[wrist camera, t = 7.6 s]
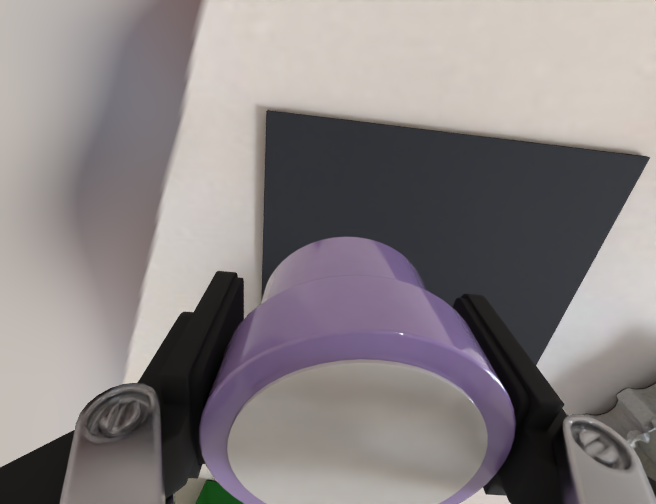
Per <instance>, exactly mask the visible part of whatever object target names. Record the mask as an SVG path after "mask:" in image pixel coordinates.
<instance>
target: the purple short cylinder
mask: <svg viewBox="0 0 656 504" xmlns="http://www.w3.org/2000/svg"><path fill="white" fill-rule="evenodd" d="M515 426H516V421H515V414H514V408H513V405H512V402H511V400H510V397H509V394H508V392H507V391H506V389H505V387H504V385H503V384H502V382H501V380H500V379H499V377H498V375H497V373H496V372H495V370H494V368H493V367H492V365H491V363H490V361H489V360H488V358H487V356H486V355H485V353H484V351H483V349H482V348H481V346H480V344H479V343H478V341H477V339H476V337H475V336H474V334H473V332H472V331H471V329H470V328H469V326H468V325H467V323H466V321H465V320H464V319H463V318H462V317H461V316H460V315H459V314H458V312H457V311H456V310H455V309H453V308H452V307H451V306H450V305H448V304H447V303H446V302H445V301H443V300H442V299H440V298H439V297H437V296H435V295H434V294H432V293H430V292H428V291H427V289H426V287H425V284H424V282H423V280H422V278H421V276H420V274H419V273H418V271H417V270H416V268H415V267H414V266H413V264H412V263H411V262H410V261H409V260H408V259H407V258H406V257H404V256H403V255H402V254H401V253H400V252H398V251H396V250H395V249H393V248H391V247H389V246H387V245H385V244H383V243H380V242H377V241H374V240H370V239H365V238H359V237H334V238H328V239H323V240H320V241H317V242H314V243H311V244H308V245H306V246H304V247H302V248H300V249H298V250H297V251H295V252H294V253H292V254H291V255H289V256H288V257H287V258H286V259H285V260H283V261H282V262H281V263H280V265H279V266H278V267H277V268H276V269H275V271H274V272H273V274H272V275H271V277H270V278H269V281H268V283H267V285H266V288H265V291H264V295H263V298H262V302H261V305H259V306H258V307H257V308H256V309H254V310H253V311H252V312H251V313H249V315H248V316H247V317H246V318H245V319H244V320H243V321H242V322H241V323H240V324H239V326H238V327H237V329H236V330H235V332H234V333H233V335H232V336H231V338H230V340H229V342H228V345H227V347H226V349H225V352H224V355H223V357H222V360H221V363H220V365H219V368H218V371H217V374H216V376H215V379H214V382H213V384H212V387H211V390H210V392H209V395H208V398H207V401H206V403H205V406H204V409H203V411H202V415H201V420H200V424H199V444H200V449H201V454H202V457H203V459H204V461H205V464H206V466H207V468H208V469H209V471H210V473H211V474H212V476H213V477H214V478H215V480H216V481H217V482H218V483H219V484H220V485H221V486H222V487H223V488H224V489H225V490H226V491H227V492H228V493H230V494H231V495H232V496H233V497H234V498H236V499H237V500H239V501H240V502H242V503H243V504H459V503H461V502H463V501H465V500H466V499H468V498H469V497H471V496H472V495H474V494H475V493H476V492H478V491H479V490H480V489H481V488H482V487H484V486H485V485H486V484H487V483H488V482H489V481H490V480H491V479H492V478H493V477H494V476H495V475H496V474H497V473H498V471H499V470H500V468H501V467H502V466H503V464H504V463H505V461H506V459H507V457H508V455H509V453H510V451H511V449H512V445H513V441H514V438H515Z"/></svg>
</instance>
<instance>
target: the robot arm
mask: <svg viewBox="0 0 656 504" xmlns="http://www.w3.org/2000/svg"><path fill="white" fill-rule="evenodd" d="M453 309H455V310H456V311H457V312H458V314H459V315H460V316H461V317H462V318H463V319H464V320H465V321H466V323H467V325H468V326H469V328H470V329H471V331H472V332H473V334H474V336H475V337H476V339H477V341H478V343H479V344H480V346H481V348H482V349H483V351H484V353H485V355H486V356H487V358H488V360H489V361H490V363H491V365H492V367H493V368H494V370H495V372H496V373H497V375H498V377H499V379H500V380H501V382H502V384H503V385H504V387H505V389H506V391H507V392H508V394H509V397H510V400H511V402H512V405H513V408H514V414H515V421H516V426H515V438H514V441H513V445H512V449H511V451H510V453H509V455H508V457H507V459H506V461H505V463H504V464H503V466H502V467H501V468H500V470H499V471H498V473H497V474H496V475H495V476H494V477H493V478H492V479H491V480H490V481H489V482H488V483H487V484H486V485H485V486H484V487H483V488H484V491H485V493H486V494H490V495H507V498H508V500H509V502H510V503H511V504H656V481H655V480H653V479H651V478H650V477H648V476H646V473H645V471H644V469H643V466H642V464H641V462H640V459H639V457H638V456H637V454H636V452H635V451H634V449H633V448H632V447H631V446H630V444H629V443H628V442H627V441H626V440H625V439H624V438H623V437H622V436H621V435H619V434H618V433H617V432H616V431H615V430H613V429H612V428H610V427H609V426H607V425H605V424H604V423H602V422H600V421H598V420H596V419H594V418H591V417H588V416H584V415H573V414H572V415H570V416H567V415H566V413H565V412H564V410H563V409H562V407H563V406H564V403H563V402H562V401H561V399H560V398H559V396H558V395H557V394H556V392H555V391H554V390H553V388H552V387H551V386H550V384H549V383H548V382H547V380H546V379H545V378H544V376H543V375H542V373H541V372H540V371H539V369H538V368H537V367H536V365H535V364H534V363H533V361H532V360H531V359H530V357H529V356H528V355H527V353H526V352H525V350H524V349H523V348H522V346H521V345H520V344H519V342H518V341H517V340H516V338H515V337H514V336H513V334H512V333H511V332H510V330H509V329H508V327H507V326H506V325H505V323H504V322H503V321H502V319H501V318H500V317H499V315H498V314H497V313H496V311H495V310H494V309H493V307H492V306H491V304H490V303H489V302H488V300H487V299H486V298H485V297H484V296H483V295H475V294H463V295H462V296H461V298H457V299H456V300H455V302H454V305H453ZM243 320H244V281H243V278H238V277H237V273H235V272H224V271H217V272H216V274H215V275H214V277H213V279H212V281H211V283H210V284H209V286H208V288H207V290H206V291H205V293H204V295H203V297H202V298H201V300H200V302H199V304H198V306H197V307H196V309H195V311H194V312H183V313H181V314H180V316H179V317H178V318H177V320H176V322H175V323H174V325H173V327H172V328H171V330H170V331H169V333H168V335H167V336H166V338H165V339H164V341H163V343H162V344H161V346H160V348H159V349H158V351H157V352H156V354H155V356H154V357H153V359H152V361H151V362H150V364H149V365H148V367H147V369H146V370H145V372H144V373H143V375H142V377H141V378H140V380H139V382H138V383H130V384H122V385H119V386H116V387H113V388H110V389H108V390H107V391H105V392H103V393H101V394H99V395H98V396H96V397H95V398H94V399H93V400H92V401H90V402H89V403H88V404H87V405H86V407H85V408H84V409H83V410H82V412H81V413H80V415H79V417H78V420H77V422H76V426H75V430H73V431H72V432H69V433H68V434H65V435H63V436H62V437H59V438H58V439H56V440H54V441H52V442H50V443H48V444H46V445H44V446H42V447H40V448H38V449H36V450H34V451H32V452H30V453H28V454H26V455H24V456H22V457H20V458H18V459H16V460H14V461H12V462H10V463H8V464H6V465H5V466H2V467H0V504H175V492H176V491H178V490H179V489H180V488H182V487H183V486H184V485H186V483H187V480H188V478H198V476H199V473H200V470H201V467H202V464H205V461H204V459H203V457H202V454H201V449H200V444H199V424H200V420H201V415H202V411H203V409H204V406H205V403H206V401H207V398H208V395H209V392H210V390H211V387H212V384H213V382H214V379H215V376H216V374H217V371H218V368H219V365H220V363H221V360H222V357H223V355H224V352H225V349H226V347H227V345H228V342H229V340H230V338H231V336H232V335H233V333H234V332H235V330H236V329H237V327H238V326H239V324H240V323H241V322H242V321H243Z"/></svg>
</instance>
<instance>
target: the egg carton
mask: <svg viewBox="0 0 656 504" xmlns="http://www.w3.org/2000/svg"><path fill="white" fill-rule="evenodd" d="M617 399H618V402H617V404H616V406H615V407H614V408H613V409H612V410H611V411H609V412H608V413H606V414H602V415H598V416H593V415H588V414H584V416H588V417H591V418H594V419H596V420H598V421H600V422H602V423H604V424H605V425H607V426H609V427H610V428H612V429H613V430H615V431H616V432H617V433H618V434H619V435H621V436H622V437H623V438H624V439H625V440H626V441H627V442H628V443H629V444H630V446H631V447H632V448H633V449H634V451H635V452H636V454H637V456H638V457H639V459H640V462H641V464H642V466H643V469H644V471H645V473H646V476H648V477H650V478H651V479H653V480H655V481H656V384H654V385H652V386H650V387H649V388H646V389H631V388H627V389H625V390H623V391H621V392H620V393H618V394H617Z"/></svg>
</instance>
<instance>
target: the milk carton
mask: <svg viewBox="0 0 656 504" xmlns="http://www.w3.org/2000/svg"><path fill="white" fill-rule="evenodd" d="M196 504H243V503H242V502H240V501H239V500H237V499H236V498H234V497H233V496H232V495H231V494H230V493H228V492H227V491H226V490H225V489H224V488H223V487H222V486H221V485H220V484H219V483H218V482H213V481H209V480H207V481H206V483H205V485H204V487H203V489H202V491H201V493H200V495H199V497H198V499H197V502H196Z"/></svg>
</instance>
